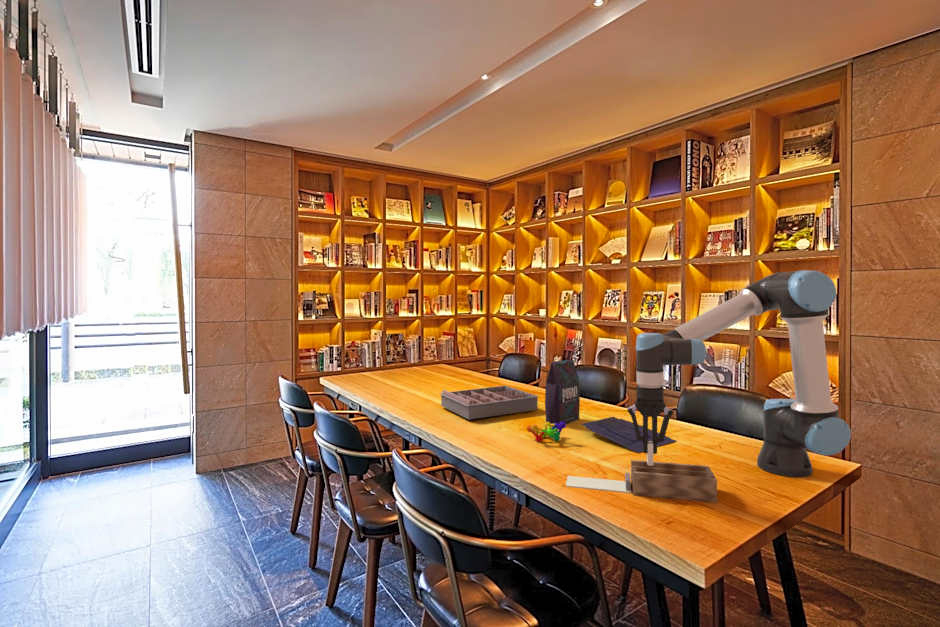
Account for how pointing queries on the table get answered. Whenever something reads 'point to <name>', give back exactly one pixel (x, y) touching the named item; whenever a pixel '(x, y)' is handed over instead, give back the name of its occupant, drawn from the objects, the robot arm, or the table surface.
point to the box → (673, 481)
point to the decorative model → (547, 431)
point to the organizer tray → (488, 401)
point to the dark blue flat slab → (622, 432)
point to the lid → (600, 483)
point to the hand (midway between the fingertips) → (650, 464)
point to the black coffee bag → (562, 393)
